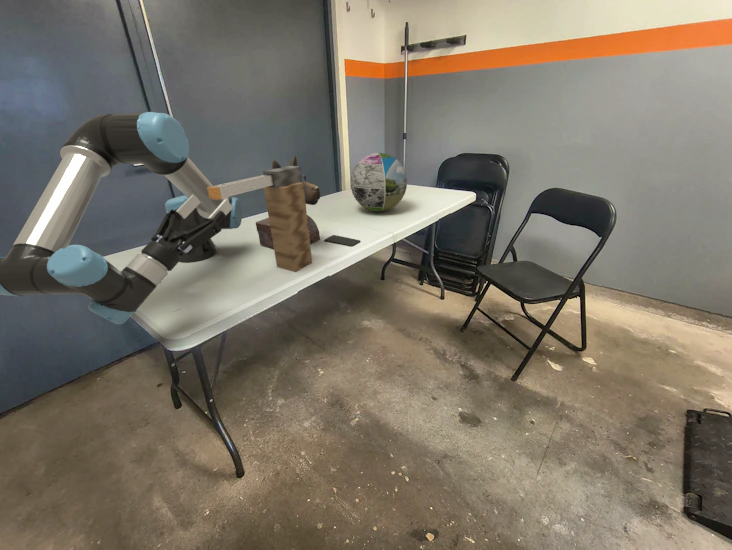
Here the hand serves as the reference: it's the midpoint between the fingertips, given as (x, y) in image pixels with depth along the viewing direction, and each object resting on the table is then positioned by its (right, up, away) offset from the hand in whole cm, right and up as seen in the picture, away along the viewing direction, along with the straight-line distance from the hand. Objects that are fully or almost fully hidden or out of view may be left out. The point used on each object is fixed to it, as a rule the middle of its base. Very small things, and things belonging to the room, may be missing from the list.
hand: (212, 200), depth 86 cm
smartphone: (+31, -6, +54) cm, 62 cm away
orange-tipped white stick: (+6, +5, +9) cm, 12 cm away
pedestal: (+15, -16, +33) cm, 40 cm away
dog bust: (+12, -7, +52) cm, 54 cm away
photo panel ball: (+48, +16, +95) cm, 107 cm away
